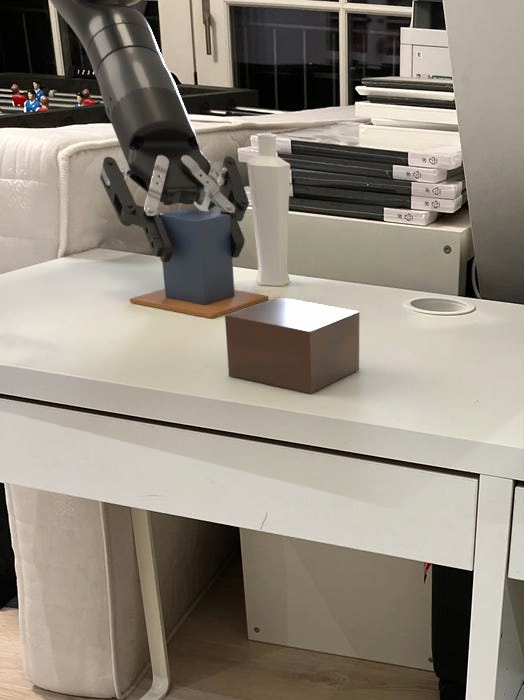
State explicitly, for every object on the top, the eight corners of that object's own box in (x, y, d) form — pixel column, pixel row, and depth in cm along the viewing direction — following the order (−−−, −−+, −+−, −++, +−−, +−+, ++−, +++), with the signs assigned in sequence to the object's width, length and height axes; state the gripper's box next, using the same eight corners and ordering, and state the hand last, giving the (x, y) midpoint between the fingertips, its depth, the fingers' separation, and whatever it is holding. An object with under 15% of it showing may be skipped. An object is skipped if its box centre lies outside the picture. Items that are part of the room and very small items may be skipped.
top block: (205, 305, 99) (199, 220, 95) (165, 297, 100) (157, 214, 96) (235, 296, 103) (230, 214, 99) (195, 289, 104) (189, 208, 100)
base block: (311, 394, 79) (309, 331, 77) (228, 375, 82) (224, 315, 79) (359, 370, 86) (359, 311, 83) (281, 353, 88) (279, 296, 85)
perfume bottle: (265, 288, 108) (258, 137, 100) (246, 280, 111) (237, 132, 103) (301, 285, 111) (297, 137, 103) (281, 276, 114) (276, 132, 106)
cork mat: (211, 318, 96) (211, 314, 96) (129, 302, 99) (129, 298, 99) (268, 299, 104) (268, 295, 104) (191, 285, 107) (191, 281, 107)
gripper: (79, 81, 93) (139, 235, 91) (221, 86, 100) (279, 228, 99) (70, 137, 99) (126, 282, 98) (204, 137, 107) (258, 272, 105)
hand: (203, 254), depth 98 cm, fingers closed on top block, 6 cm apart
